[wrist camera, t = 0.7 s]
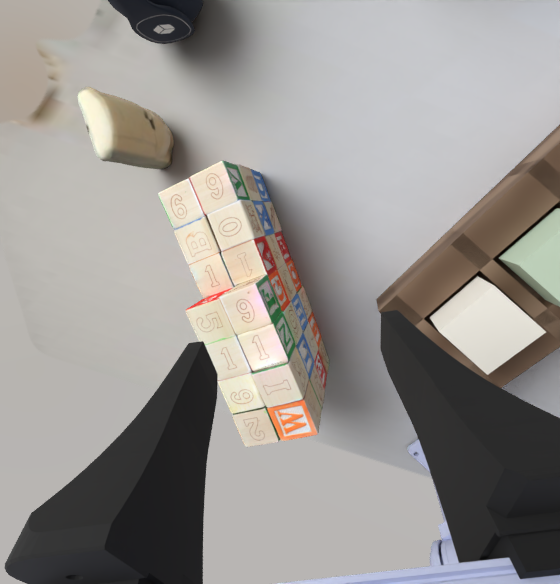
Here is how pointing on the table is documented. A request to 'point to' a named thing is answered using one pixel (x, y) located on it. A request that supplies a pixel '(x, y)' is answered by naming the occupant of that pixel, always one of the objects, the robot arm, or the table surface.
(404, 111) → the table surface
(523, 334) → the cream key
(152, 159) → the cream rounded block
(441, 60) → the table surface
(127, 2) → the headphones
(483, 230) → the key console
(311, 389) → the stack of blocks
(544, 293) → the sage green key
